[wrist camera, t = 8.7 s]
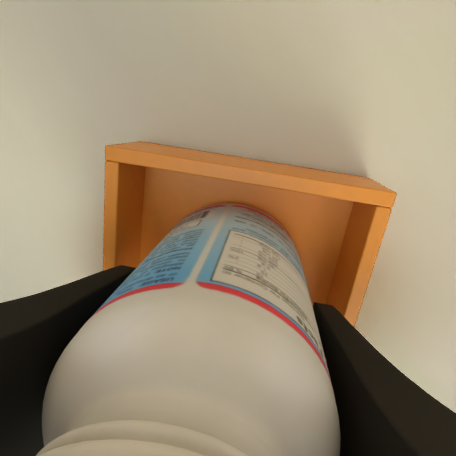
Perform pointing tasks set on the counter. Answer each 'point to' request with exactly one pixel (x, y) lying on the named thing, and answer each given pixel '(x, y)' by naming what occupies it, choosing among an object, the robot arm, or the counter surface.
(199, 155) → the amber tray
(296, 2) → the counter surface
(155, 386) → the pill bottle
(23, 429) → the robot arm
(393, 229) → the counter surface
